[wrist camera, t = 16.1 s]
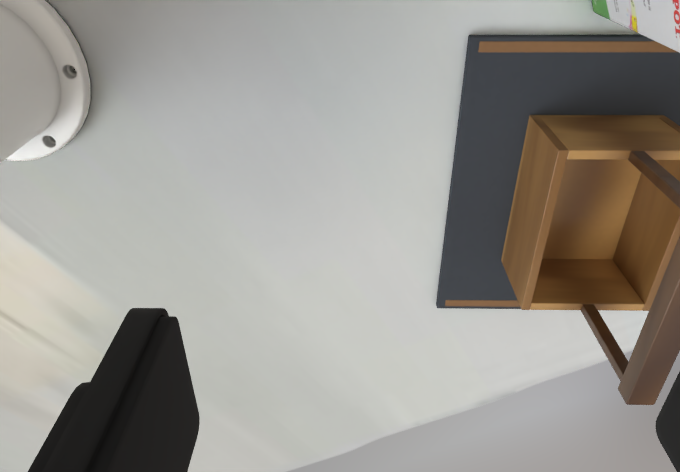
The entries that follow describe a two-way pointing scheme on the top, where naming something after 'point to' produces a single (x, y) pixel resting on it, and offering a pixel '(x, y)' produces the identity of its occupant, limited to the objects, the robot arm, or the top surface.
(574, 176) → the basket
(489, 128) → the felt mat
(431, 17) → the top surface
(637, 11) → the ink box
